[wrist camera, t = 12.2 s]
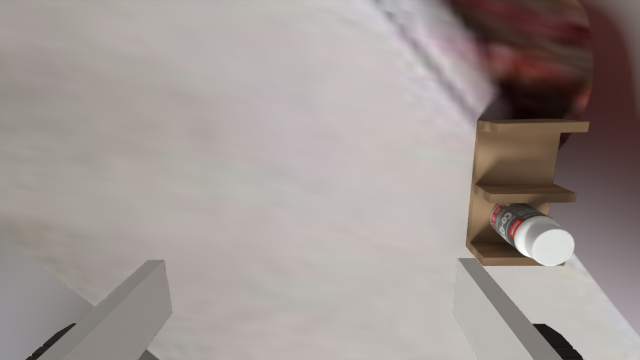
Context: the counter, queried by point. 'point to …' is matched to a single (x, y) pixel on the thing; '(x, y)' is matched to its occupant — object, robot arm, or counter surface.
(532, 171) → the rack
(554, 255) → the pill bottle
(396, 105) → the counter surface
